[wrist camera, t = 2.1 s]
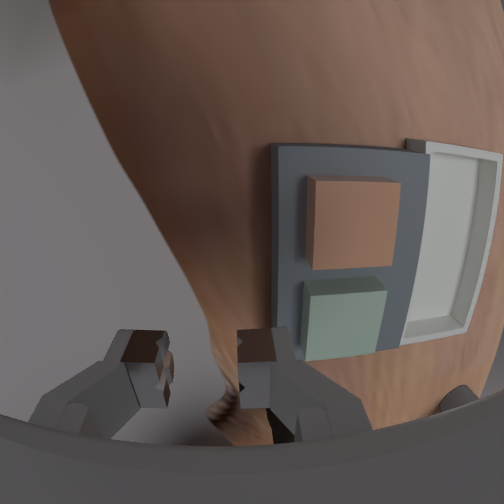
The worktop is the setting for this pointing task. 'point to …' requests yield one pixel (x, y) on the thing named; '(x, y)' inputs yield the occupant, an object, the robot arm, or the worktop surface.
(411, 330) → the box
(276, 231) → the dark grey slab
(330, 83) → the worktop surface
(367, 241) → the tile
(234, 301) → the worktop surface
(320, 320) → the tile
